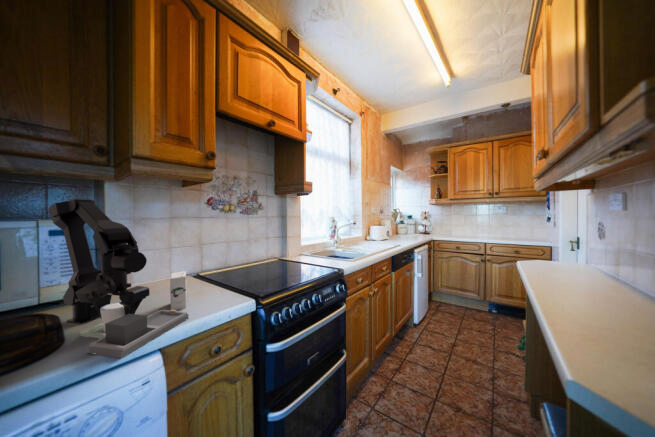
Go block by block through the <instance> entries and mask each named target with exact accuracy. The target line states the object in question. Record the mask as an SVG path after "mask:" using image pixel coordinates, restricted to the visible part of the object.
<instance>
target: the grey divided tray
mask: <svg viewBox="0 0 655 437" xmlns="http://www.w3.org/2000/svg"><path fill="white" fill-rule="evenodd" d="M186 319H187V320H188V319H189V313H188V312H187V311H179V310H178V311H177V310H171V309H170V310H168V309H160V310H157V311H155V312H152V313H151V314H149V315H148V316H147V315H146V314H136V313H135V314H127V315H125V316H122V317H120V318H118V319H115V320H113V321H111V322H108V323H106V324H105V331H106V336H105V337H103V338H101V339H100V338H98V339H97V340H95V341H93V342H90V343H89V344H90V346H89V347H87V349H88V350H87V351H88V352H87V354H88V353H96V354H99V355H98V356H103V357H108V358H109V357H110V358H115V359H116V358H117V359H123V358H125V357H126V356H127V355H130V354H132V353H133V352H135V351H136V350H138V349H140V348H142V347H143V346H145V345H146V344H148V343H149V342H152V341H154V340H155V339H157V338H158V337H160V336H162V335H163V334H165V333H166V332H168V331H170V330H172V329H174V328H175V327H177V326H178V325H180V324H182V323H183V322H185V321H187V320H186Z"/></svg>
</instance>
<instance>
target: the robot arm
mask: <svg viewBox="0 0 655 437" xmlns="http://www.w3.org/2000/svg"><path fill="white" fill-rule="evenodd" d="M47 210H48V215H49V217H51V219H52V223H53V224H54V225H55V226H56V227H58V228H59V229H60V230H61V231H62V232H63V235H64V239H65V243H66V247H67V250H68V251H67V252H68V256H69V259H70V263H71V267H72V268H71V269H72V271H73V273H72V275H71V277H70V279H68V280H69V281H68V283H67V284H68V287H67V289H66V291H65V292H64V294H63V296H62V300H63V303H64V305H67V306H71V307H72V318H70V319H67V320H66V322H67V323H74V324H79V325H82V324H86V323H87V322H90V321H93V320H96V319H98V318H100V319H101V320H102V317H101V311H100V308H101V307H103V306H105V305H108V304H111V300H112V296H116V297H117V296H119V298H118V299H119V302H120V303H119V304H121V305H123V306H124V310H125V315H127V314H136V312H137V310H138V309H139V307H140V304H141V303H142V302H143V300H144V299H146V298H147V297H149V296H150V292H151V291H150V288H149V287H148V286H142V285H141V286H139V285H136V286H133V287H132V283H130V282H128V275H130V274H132V273H138V272H140V271H142V270H143V269H144V268H145V266H146V265H147V260H148V259H147V258H146V255H145V254H144V253H142V252H141V251H140V252H139V247H138V242H137V241H136V239H135V237H134V236H133V234H132V232H131V230H130V229H129V228H128V227H127V226H125V225H124V224H123V223H119V222H115V221H112V219H111V218H109V216H107V215H106V213H104V212H103V211H102V210H101V208H99V207H98V206H97V205H96V201H95V200H93V199H91V198H73V199H69V200H66V201H60V202H55V203H53V204H52V205H50V206H49V207H48V208H47ZM85 224H86V225H87V226H88V227H89V228H90V229H91V230H92V231H93V235H92V239H93V242H94V243H95V245H96V246H97V248H99V250H97V254H99V255H100V269H98V268H96V267H95V265H94V261H93V256H92V254H91V253H92V252H91V249H90V245H89V241H88V238H87V234H86V230H85Z"/></svg>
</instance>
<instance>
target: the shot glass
mask: <svg viewBox="0 0 655 437" xmlns="http://www.w3.org/2000/svg"><path fill="white" fill-rule="evenodd" d="M120 302H121V301H115V302H110V304H108V305H105V306H103V307H101V308H100V311H101V317H102V319H101V322H102V323H103V333H106V331H105V324H106V323H108V322H111V321H113V320H115V319H118V318H120V317H122V316H125V310H124V306H123V305H121V304H119V303H120ZM101 317H100V318H101Z"/></svg>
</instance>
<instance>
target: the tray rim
mask: <svg viewBox="0 0 655 437" xmlns="http://www.w3.org/2000/svg"><path fill="white" fill-rule="evenodd" d="M102 328H103V323H99V324H96V325H94V326H91V327H89V328H86V329H85V330H82V331H80V332H79V336H80V337H86V338H95V339H100V338H103V337H105V336H106V333H105V332H100V331H99V332H97V331H98V330H100V329H102Z"/></svg>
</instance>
